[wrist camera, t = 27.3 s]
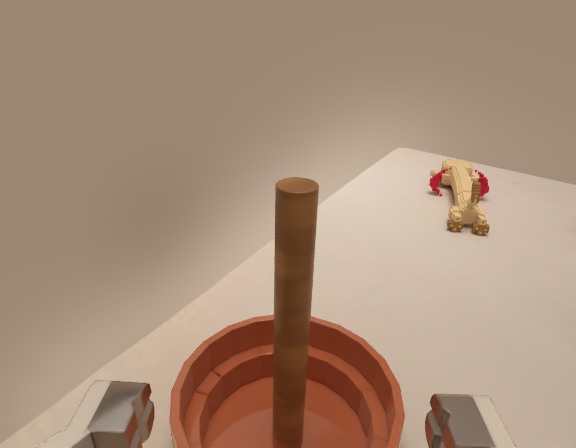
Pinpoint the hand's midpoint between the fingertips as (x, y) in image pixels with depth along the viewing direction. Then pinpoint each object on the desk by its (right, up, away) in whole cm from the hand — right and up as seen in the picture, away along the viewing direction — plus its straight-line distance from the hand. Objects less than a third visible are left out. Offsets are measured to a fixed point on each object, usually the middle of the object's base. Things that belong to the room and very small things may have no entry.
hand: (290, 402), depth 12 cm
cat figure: (+30, +9, +60) cm, 68 cm away
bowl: (0, -11, +18) cm, 21 cm away
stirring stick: (0, -11, +18) cm, 21 cm away
